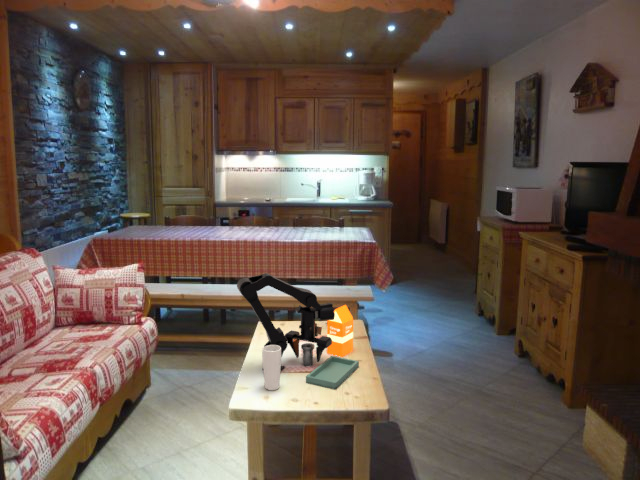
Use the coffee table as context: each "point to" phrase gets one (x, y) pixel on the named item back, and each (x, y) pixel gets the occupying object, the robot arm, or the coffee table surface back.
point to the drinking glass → (271, 366)
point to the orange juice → (340, 332)
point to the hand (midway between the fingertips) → (307, 359)
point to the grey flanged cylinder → (307, 354)
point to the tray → (332, 372)
